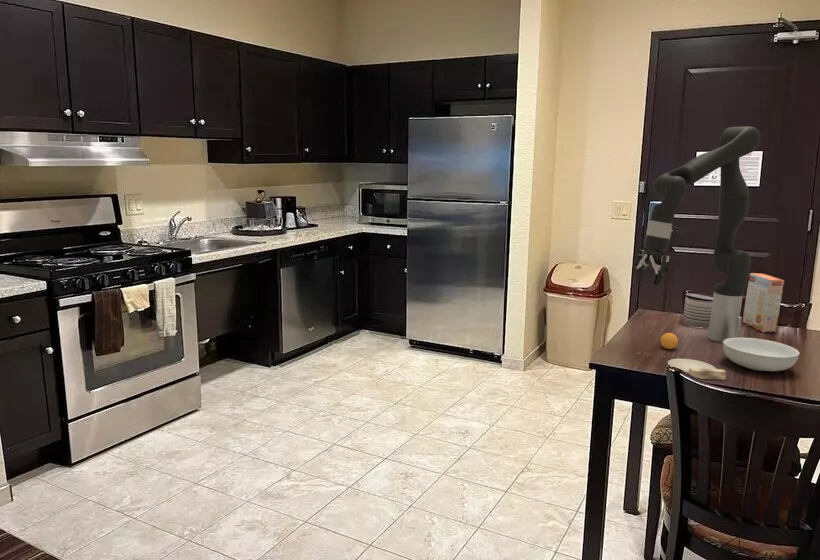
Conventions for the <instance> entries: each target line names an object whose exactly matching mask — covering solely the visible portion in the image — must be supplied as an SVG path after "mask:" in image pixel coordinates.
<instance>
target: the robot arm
mask: <svg viewBox="0 0 820 560" xmlns="http://www.w3.org/2000/svg"><path fill="white" fill-rule="evenodd" d="M761 139H762V136H761V132H760V131H759V130H758V129H757V128H756V127H755V126H754V127H753V126H748V125H747V126H729V127H727V128H725V130H723V132H722V133H721V136H720V138H719V147H718V148H715V149H713V150H709V151H706V152H704V153H702V154H700V155H698V156H695V157H694V158H692V159H691V160H689V161H687V162H686V163H684V164H682V165H681V166H680V167H676V168H674V169H672V170H669V171H667V172H665V173H663V174H661V175H659V176H658V177H657V178H656V179H655V180H654V182H653V185H652V190H653V192H654V193H655V194H656V195H657V196H658V197H663V200H662V201H661V202H659V203H656V204H654V206H653V207H652V211H651V215H650V220H649V223H648V224H647V227H646V233H645V236H644V237H645V238H644V242H643V248H644V249H637V250H636V254H635V258H634V260H633V267H636V274H635V280H636V281H639V282H641V281H642V280H643V278H644V273H645V269H647V267H648V266H651V267H652V268H653V269H654V273H655V274H654V276H653V280H652V281H653V282H652V285H653V286H656V287H659V286H660V284H661V283H662V279H663V278H662V277H663V276H664V275H669V270H670V266H671V262H672V261H671V260H672V257H671V256H670V255H665V252H667V251H668V248H669V244H670V240H671V235H672V231H673V230H672V229H673V224H674V219H675V215H676V211H677V210H678V208H679V206H680V204H681V203H682V200H683V198H684V196H685V195H686V191H687V186H689V185H693V184H695V183H697V182H698V181H700V180H701V179H703V178H704V177H706V176H708V175H710V174H711V173H712V172H714V171H716V170H718V169H719V168H720V181H719V183H720V185H719V187H720V188H719V197H718V198H719V200H718V222H717V230H716V231H717V232H716V238H715V246H714V250H713V255H712V256H713V257H712V264H713V268H714V269H715V270H716V271H717V272H718V273H721V274H725V275H726V279H725V281H724V282H719V283H716V284H715V285H714V290H713V296H712V297H713V303H712V310H711V317H710V325H709V328H708V331H707V339H709V340H710V341H712V342H713V341H714V342H718V343H722V342H723V341H724V340H725V339H728V338H740V330H741V326H742V325H741V323H742V320H743V317H742V316H741V310H742V303H743V296H744V291H745V289H746V288H747V287H748V283H749V276H750V271H751V268H752V267H751V265H752V259H751V255H750V253H748V252H747V251H745V250H741V249H735V237H736V234H737V231H738V229H740V226H741V225H742V224H743V222H744V221H745V219H746V217H747V215H748V213H749V208H750V207H749V206H750V190H749V187H748V185H747V183H746V180H745V179H744V177H743V175H742V172H741V167H740V158H742V157H744V156H747V155H749V154H751V153H753V152H754V151H756V150H757V148H758V147H759V146H760V144H761Z"/></svg>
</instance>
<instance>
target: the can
mask: <svg viewBox="0 0 820 560" xmlns="http://www.w3.org/2000/svg"><path fill="white" fill-rule="evenodd" d="M712 303H713V296H708V295H704V294H703V295H702V294H699V293H698V294H697V293H685V299H684V307H683V314H682V315H683V316H682V322H683V323H684V324H683V323H682V324H683V325H685V324H686V325H685V326H687V325H689V326H688V327H690V326H694V327H703V328H708V327H709V325H710V317H711V310H712ZM694 327H693V328H694ZM708 329H709V328H708Z"/></svg>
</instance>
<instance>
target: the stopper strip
mask: <svg viewBox="0 0 820 560" xmlns="http://www.w3.org/2000/svg"><path fill="white" fill-rule="evenodd" d="M688 374H690V375H692V376H694V377H697V378H700V379H699V380H715V381H717V380H718V381H719V380H720V381H721V380H723V381H725V380H726V378H727V377H726V376H727V371H726V370H724V369H721V368H720V369H719V368H716V369H696V368H689V373H688Z"/></svg>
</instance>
